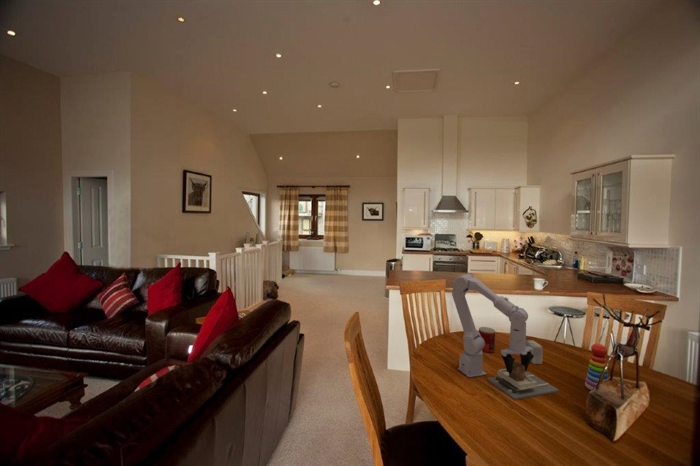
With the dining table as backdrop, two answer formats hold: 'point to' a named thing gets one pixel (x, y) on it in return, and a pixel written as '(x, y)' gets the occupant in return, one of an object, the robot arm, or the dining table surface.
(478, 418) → the dining table surface
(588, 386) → the stacking toy
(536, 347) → the medicine box
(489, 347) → the canned food
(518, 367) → the walnut block
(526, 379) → the cream tray
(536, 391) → the track
